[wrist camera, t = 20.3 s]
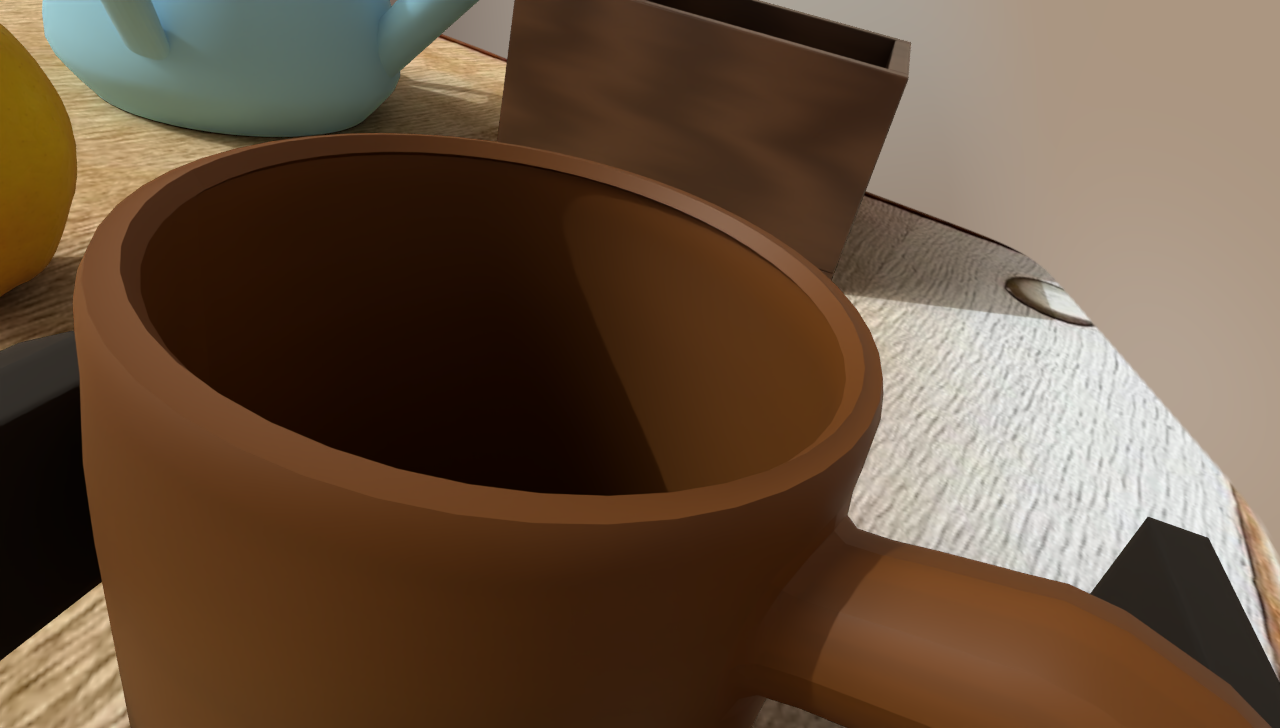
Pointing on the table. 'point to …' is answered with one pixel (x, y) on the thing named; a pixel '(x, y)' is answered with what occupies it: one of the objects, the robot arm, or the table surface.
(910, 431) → the table surface
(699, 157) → the chest
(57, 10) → the teapot
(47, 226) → the apple
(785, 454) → the mug
